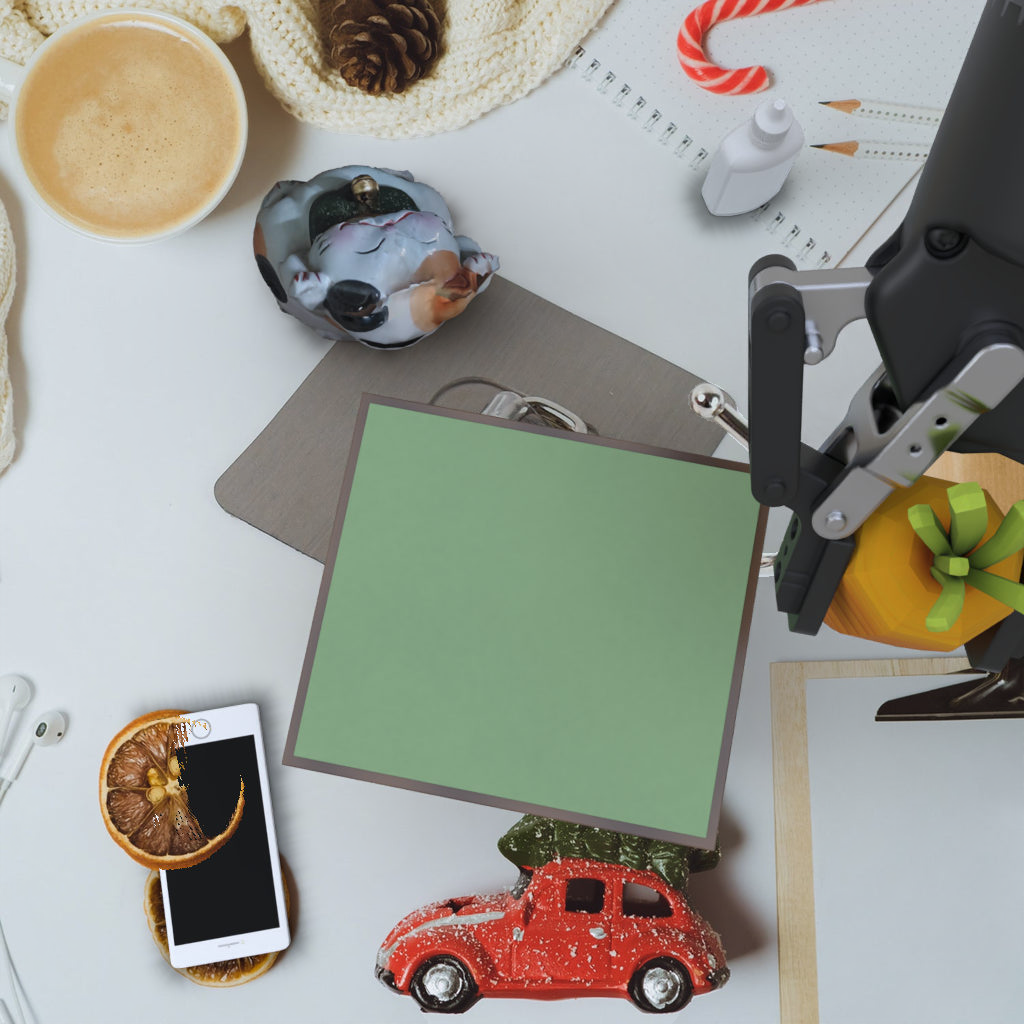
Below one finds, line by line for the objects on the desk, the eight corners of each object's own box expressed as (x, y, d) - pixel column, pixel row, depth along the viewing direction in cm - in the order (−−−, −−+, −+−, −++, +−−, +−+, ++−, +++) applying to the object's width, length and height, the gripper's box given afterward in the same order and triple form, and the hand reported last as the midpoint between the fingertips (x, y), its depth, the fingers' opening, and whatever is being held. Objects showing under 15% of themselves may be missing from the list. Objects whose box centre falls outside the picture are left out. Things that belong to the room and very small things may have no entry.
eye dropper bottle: (775, 225, 75) (821, 143, 63) (697, 215, 75) (729, 131, 63) (781, 168, 76) (829, 77, 64) (704, 158, 76) (737, 65, 64)
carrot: (904, 640, 38) (1149, 634, 23) (771, 662, 38) (931, 670, 23) (877, 507, 39) (1098, 419, 24) (745, 528, 39) (885, 453, 24)
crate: (679, 542, 72) (776, 468, 44) (639, 775, 70) (715, 851, 42) (424, 494, 73) (362, 391, 45) (377, 723, 70) (280, 764, 43)
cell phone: (258, 701, 71) (256, 701, 70) (292, 946, 68) (289, 949, 68) (145, 721, 70) (141, 721, 70) (174, 967, 68) (171, 970, 68)
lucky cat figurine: (453, 166, 76) (513, 149, 63) (461, 332, 79) (520, 349, 66) (242, 170, 71) (260, 153, 59) (259, 346, 74) (281, 367, 62)
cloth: (762, 477, 44) (765, 476, 44) (704, 836, 42) (706, 838, 42) (371, 404, 45) (369, 402, 44) (295, 754, 43) (293, 755, 42)
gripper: (852, -18, 17) (642, 677, 28) (1723, 133, 17) (1178, 784, 27) (814, -81, 23) (653, 511, 34) (1458, 29, 23) (1093, 596, 33)
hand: (889, 631), depth 31 cm, fingers closed on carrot, 4 cm apart
